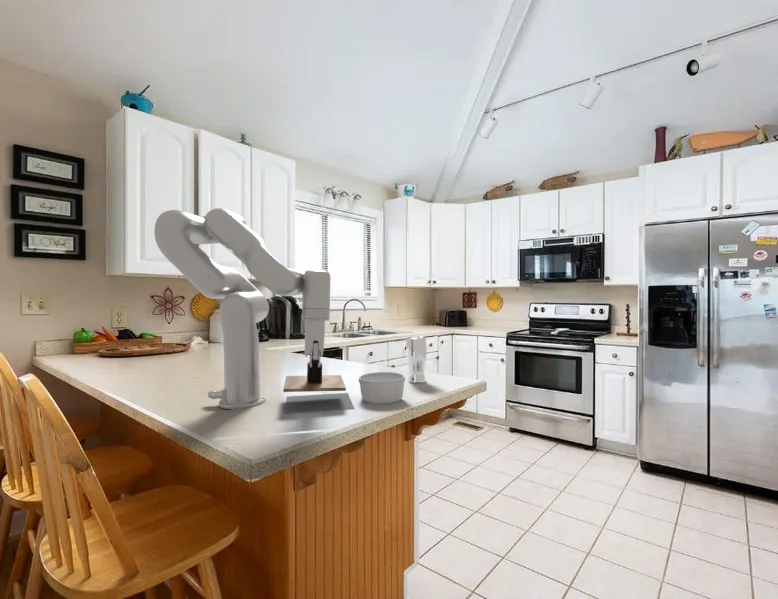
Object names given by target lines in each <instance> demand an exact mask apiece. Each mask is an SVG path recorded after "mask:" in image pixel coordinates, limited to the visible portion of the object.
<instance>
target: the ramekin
mask: <svg viewBox="0 0 778 599" xmlns="http://www.w3.org/2000/svg"><path fill="white" fill-rule="evenodd" d="M405 381H406V376H405V374H403V373H399V372H394V371H393V372H392V371H377V372H368V373H364V374H361V375H359V377H358V383H359V387H360V388H359V389H360V393H361V399H362V400H363V401H364V402H366V403H370V404H392V403H396V402H399V401H401V400H402V399H403V396H404V387H405Z"/></svg>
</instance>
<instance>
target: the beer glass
mask: <svg viewBox="0 0 778 599" xmlns="http://www.w3.org/2000/svg"><path fill="white" fill-rule="evenodd" d="M405 344H406V347H405V351H406V361H407V364H408V365H407V366H408V378H407V382H408V383H410V384H423V383H426V376H425V367H426V360H427V353H428V352H427V338H426V337H423V336H410V337H406V343H405Z"/></svg>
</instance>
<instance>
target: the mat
mask: <svg viewBox="0 0 778 599" xmlns="http://www.w3.org/2000/svg"><path fill="white" fill-rule="evenodd" d="M346 410H348V411H349V410H355V406H354V405H353V402H352V400H351V397H350V396H349V392H340V393H339V392H338V393H337V392H336V393H326V394H325V393H323V394H310V395H309V394H308V395H293V396H292V395H291V396H289V395H288V396H286V400H285V404H284V412H283V415H291V414H304V413H307V414H308V413H319V412H332V411H333V412H335V411H346Z"/></svg>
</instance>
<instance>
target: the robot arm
mask: <svg viewBox="0 0 778 599" xmlns="http://www.w3.org/2000/svg"><path fill="white" fill-rule="evenodd" d="M154 239H155V243H156V245H157V248H158V249H159V251H160V252H161V254H163V256H164V257H165V258H166V259H167V261H169V263H170V264H172V265H173V266H174V268H176V269H177V270H178V271H179V272H180V273H181V274H182V276H183V277H185V279H187V280H188V281H189V282H190V283H191V284H192V285H193V286H194V287H195V288H196V289H197V290H198V291H199V292H200V294H202V295H203V296H204V297H205V298H208V299H212V300H222V301H221V303H220V306H219V308H218V309H219V320H220V325H221V331H222V332H221V333H222V344H223V346H222V347H223V348H222V351H223V380H224V382H223V383H224V384H223V385H224V387H223V389H220V390H209V391H207V392H208V393H207V396H208V398H209V399H211V400H215V399H220V400H219V401H218V407H220V408H221V409H225V410H233V409H243V408H244V409H245V408H252V407H257V406H259V405H262V404H265V403H266V401H267V398H266V396H265V395H263V394H261V380H260V379H261V376H260V372H261V371H260V339H259V332H258V328H257V323H259V322H262V321H263V320H265V319H266V317H267V316H268V314H269V311H270V305H269V302H268V299H267V297H265V295H264V294H263V293H262V292H261V291H260V290H259V289H258V288H257V287H256V286H255V285H254V284H253V283H252V282H251V281H250V280H249V279H248V278H246V276H244V275H243V274H242V273H241V272H240V271H238V270H237V269H234V268H233V267H228V266H222V265H219V264H217V263H216V262H215V261H214V260H213V259H212V258H211V257H210V256H209V255H208V254H207V253H206V252H205V251H204V250H203V249H202V248H200V247H199V246H198V245H211V244H212V245H213V244H220V245H222V246H223V247H224V248H225V249H227V251H229V252H230V253H231V254H232V255H234V256H235V258H237V259H238V260H240V262H241V263H242V265H243V266H244V267H245V268H246V270H247V271H248V272H249V273H250V274H251V275H252V276H253V278H255V279H256V281H258V283H261V284H262V285H263V286H264V287H265V288H266V289H268V291H270V292H271V293H273V294H275V295H277V296H280V297H289V296H290V297H293V296H302V299H301V300H302V303H301V304H302V306H301V307H302V308H301V310H302V312H301V320H302V321H305V325H304V326H305V328H304V356H305V357H306V358H307V357H308V356H309V362H310V368H309V382H310V383H313V382H320V381H321V367H320V362H321V357H323V355H324V347H325V338H326V337H325V335H326V322H328V321H330V311H331V307H330V306H331V305H330V304H331V274H330V272H329V271H327V270H319V269H309V270H305V271H304V270H301V269H300V270H299V269H294V268H288V267H286V266H285V265H284V264H283V263H281V262H280V261H279V260H277V258H275V257H274V256H273V255H272V254H271V253H270V252H269V251H268V250H267V248H266V247H265V241H264V240H263V238H261V236H259V234H257V233H256V232H255V231H253V230H252V229H251V228H250V227H249V226H248V225H247V222H246V220H245V219H244V218H243V217H242V216H241V215H240V214H238V213H236V212H233V211H231V210H228V209H225V208H220V207H219V208H218V207H217V208H213V209H210V210H209V211H208V212H207V213H206V214H205V216H200V215H196V214H194V213H191V212H187V211H184V210H179V209H170V210H166V211H163V212H162V213H160V215H158V217H157V218H156V221H155V223H154Z"/></svg>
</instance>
